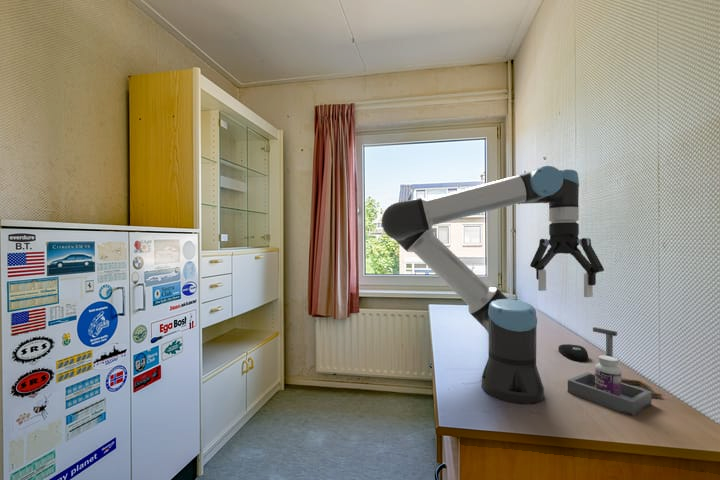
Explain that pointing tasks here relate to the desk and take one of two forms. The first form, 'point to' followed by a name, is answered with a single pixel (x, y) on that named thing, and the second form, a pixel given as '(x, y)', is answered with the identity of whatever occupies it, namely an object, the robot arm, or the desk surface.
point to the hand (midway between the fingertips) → (563, 293)
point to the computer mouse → (574, 352)
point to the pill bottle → (608, 375)
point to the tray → (627, 403)
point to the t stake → (607, 339)
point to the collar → (637, 382)
